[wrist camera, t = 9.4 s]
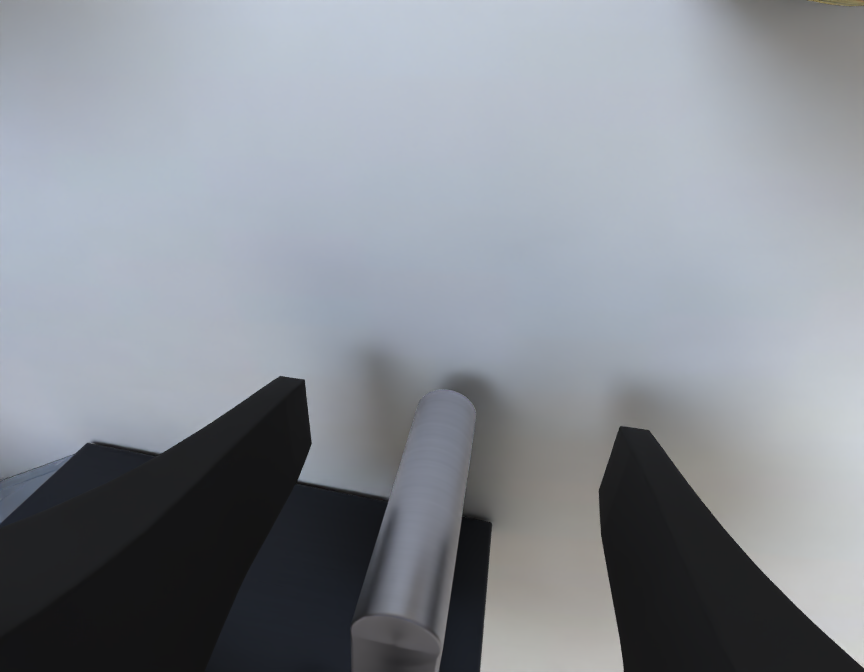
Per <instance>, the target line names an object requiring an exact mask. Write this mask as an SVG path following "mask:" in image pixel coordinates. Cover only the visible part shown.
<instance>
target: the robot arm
mask: <svg viewBox="0 0 864 672" xmlns="http://www.w3.org/2000/svg"><path fill="white" fill-rule="evenodd" d="M311 444H312V443H311V434H310V425H309V416H308V406H307V397H306V388H305V380H303V379H296V378H289V377H283V376H280V377H278V378H276V379H275V380H273V381H272V382H270V383H269V384H267V385H266V386H264V387H263V388H262V389H260V390H259V391H257V392H256V393H254V394H253V395H251V396H250V397H249V398H247V399H246V400H244V401H243V402H241V403H240V404H238V405H237V406H236V407H234V408H233V409H231V410H230V411H228V412H227V413H225V414H224V415H222V416H221V417H219V418H218V419H216V420H215V421H213V422H212V423H210V424H209V425H207V426H206V427H204V428H203V429H201V430H199V431H198V432H196V433H194V434H193V435H191V436H190V437H188V438H186V439H185V440H183V441H181V442H180V443H178V444H177V445H175V446H173V447H172V448H170V449H168V450H167V451H165V452H164V453H162V454H160V455H158V456H157V457H155V458H153V459H151V460H149V461H148V462H146V463H144V464H142V465H140V466H138V467H136V468H134V469H133V470H131V471H129V472H127V473H125V474H123V475H121V476H119V477H117V478H115V479H113V480H111V481H109V482H107V483H105V484H103V485H101V486H98V487H96V488H94V489H92V490H89V491H87V492H85V493H83V494H81V495H78V496H76V497H74V498H72V499H69V500H67V501H65V502H63V503H61V504H58V505H56V506H54V507H52V508H49V509H47V510H44V511H42V512H39V513H37V514H34V515H32V516H29V517H27V518H24V519H22V520H19V521H17V522H14V523H11V524H9V525H6V526H3V527H1V528H0V672H205V669H206V667H207V664H208V662H209V660H210V657H211V655H212V652H213V650H214V647H215V645H216V642H217V640H218V638H219V635H220V633H221V630H222V628H223V626H224V623H225V621H226V619H227V616H228V614H229V612H230V609H231V607H232V605H233V602H234V600H235V598H236V595H237V593H238V591H239V589H240V586H241V584H242V582H243V580H244V578H245V576H246V574H247V572H248V570H249V568H250V566H251V565H252V563H253V561H254V559H255V557H256V555H257V554H258V552H259V550H260V548H261V546H262V545H263V543H264V541H265V539H266V537H267V536H268V534H269V532H270V530H271V528H272V527H273V525H274V523H275V521H276V519H277V517H278V516H279V514H280V512H281V510H282V508H283V507H284V505H285V503H286V501H287V499H288V497H289V495H290V494H291V492H292V490H293V488H294V486H295V484H296V482H297V480H298V478H299V475H300V473H301V470H302V468H303V465H304V463H305V460H306V457H307V455H308V452H309V449H310V447H311ZM599 506H600V524H601V537H602V543H603V548H604V554H605V560H606V565H607V571H608V577H609V582H610V588H611V593H612V599H613V604H614V610H615V615H616V621H617V626H618V632H619V637H620V644H621V651H622V658H623V666H624V672H864V668H863V667H862V666H860V665H859V664H858V663H857V662H856V661H855V660H854V659H853V658H852V657H850V656H849V655H848V654H847V653H846V652H845V651H844V650H843V649H842V648H840V647H839V646H838V645H837V644H836V643H835V642H834V641H833V640H832V639H831V638H829V637H828V636H827V635H826V634H825V633H824V632H823V631H822V630H821V629H820V628H818V627H817V626H816V625H815V624H814V623H813V622H812V621H811V620H810V619H809V618H808V617H807V616H806V615H805V614H804V613H803V612H802V611H801V610H800V609H799V608H798V607H796V605H795V604H794V603H793V602H792V601H791V600H790V599H789V598H788V597H787V596H786V595H785V594H784V593H783V592H782V591H781V590H780V589H779V588H778V587H777V586H776V585H775V584H774V583H773V582H772V581H771V580H770V579H769V578H768V577H767V576H766V575H765V574H764V573H763V572H762V571H761V570H760V569H759V568H758V566H757V565H756V564H755V563H754V562H753V561H752V560H751V559H750V558H749V557H748V556H747V554H746V553H745V552H744V551H743V550H742V549H741V548H740V546H739V545H738V544H737V543H736V542H735V541H734V539H733V538H732V537H731V536H730V535H729V534H728V533H727V531H726V530H725V529H724V528H723V527H722V526H721V524H720V523H719V522H718V521H717V519H716V518H715V517H714V516H713V514H712V513H711V512H710V511H709V509H708V508H707V507H706V506H705V504H704V503H703V502H702V501H701V499H700V498H699V497H698V495H697V494H696V493H695V492H694V490H693V489H692V488H691V486H690V485H689V484H688V482H687V481H686V480H685V478H684V477H683V476H682V474H681V473H680V472H679V470H678V469H677V468H676V466H675V465H674V463H673V462H672V461H671V459H670V458H669V457H668V455H667V454H666V452H665V451H664V450H663V448H662V447H661V446H660V444H659V443H658V442H657V440H656V439H655V437H654V436H653V435H652V433H651V432H650V431H649V430H644V429H638V428H631V427H624V426H620V427H619V431H618V434H617V437H616V440H615V443H614V446H613V449H612V452H611V455H610V458H609V461H608V464H607V467H606V470H605V473H604V476H603V479H602V482H601V485H600V488H599Z"/></svg>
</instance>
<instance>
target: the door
mask: <svg viewBox="0 0 864 672" xmlns="http://www.w3.org/2000/svg"><path fill="white" fill-rule="evenodd" d="M475 423H476V410H475V408H474V406H473V404H472V403H471V401H470V400H469V399H468V398H467V397H465V396H464V395H462V394H460V393H458V392H456V391H452V390H446V389H441V390H435V391H432V392H429V393H428V394H426V395H425V396H424V397H422V399H421V400H420V402H419V404H418V407H417V410H416V413H415V416H414V420H413V423H412V426H411V429H410V433H409V436H408V439H407V442H406V446H405V449H404V452H403V456H402V459H401V462H400V465H399V469H398V472H397V475H396V478H395V482H394V485H393V488H392V492H391V495H390V498H389V501H388V502H386V501H381V500H376V499H370V498H365V497H360V496H355V495H350V494H345V493H340V492H335V491H330V490H325V489H320V488H315V487H310V486H304V485H299V484H295V486H294V488H293V490H292V492H291V494H290V495H289V497H288V499H287V501H286V503H285V505H284V507H283V508H282V510H281V512H280V514H279V516H278V517H277V519H276V521H275V523H274V525H273V527H272V528H271V530H270V532H269V534H268V536H267V537H266V539H265V541H264V543H263V545H262V546H261V548H260V550H259V552H258V554H257V555H256V557H255V559H254V561H253V563H252V565H251V566H250V568H249V570H248V572H247V574H246V576H245V578H244V580H243V582H242V584H241V586H240V589H239V591H238V593H237V595H236V598H235V600H234V602H233V605H232V607H231V609H230V612H229V614H228V616H227V619H226V621H225V623H224V626H223V628H222V630H221V633H220V635H219V638H218V640H217V642H216V645H215V647H214V650H213V652H212V655H211V657H210V660H209V662H208V664H207V667H206V669H205V672H480V665H481V653H482V641H483V629H484V616H485V604H486V592H487V580H488V568H489V555H490V543H491V531H492V523H491V522H487V521H482V520H477V519H472V518H467V517H462V513H463V506H464V499H465V492H466V485H467V479H468V472H469V465H470V458H471V451H472V444H473V437H474V430H475ZM155 457H157V456H152V455H147V454H142V453H137V452H132V451H127V450H122V449H117V448H111V447H106V446H101V445H96V444H91V443H87V444H85V445H84V446H83V447H82V448H81V449H80V450H79V451H78V452H77V453H76V454H75V455H74V456H72V457H71V458H70V459H69V460H68V461H67V462H66V463H65V464H64V465H63V466H62V467H61V468H59V469H58V470H57V471H56V472H55V473H54V474H53V475H52V476H51V477H50V478H49V479H48V480H47V481H45V482H44V483H43V484H42V485H41V486H40V487H39V488H38V489H37V490H36V491H35V492H34V493H32V494H31V495H30V496H29V497H28V498H27V499H26V500H25V501H24V502H23V503H22V504H21V505H20V506H18V507H17V508H16V509H15V510H14V511H13V512H12V513H11V514H10V515H9V516H8V517H7V518H5V519H4V520H3V521H2V522H1V523H0V528H1V527H3V526H6V525H9V524H11V523H14V522H17V521H19V520H22V519H24V518H27V517H29V516H32V515H34V514H37V513H39V512H42V511H44V510H47V509H49V508H52V507H54V506H56V505H58V504H61V503H63V502H65V501H67V500H69V499H72V498H74V497H76V496H78V495H81V494H83V493H85V492H87V491H89V490H92V489H94V488H96V487H98V486H101V485H103V484H105V483H107V482H109V481H111V480H113V479H115V478H117V477H119V476H121V475H123V474H125V473H127V472H129V471H131V470H133V469H134V468H136V467H138V466H140V465H142V464H144V463H146V462H148V461H149V460H151V459H153V458H155Z"/></svg>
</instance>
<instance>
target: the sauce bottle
mask: <svg viewBox="0 0 864 672" xmlns="http://www.w3.org/2000/svg"><path fill="white" fill-rule="evenodd" d="M808 1H814V2H819V3H825V4H830V5H842V6H864V0H808Z"/></svg>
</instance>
